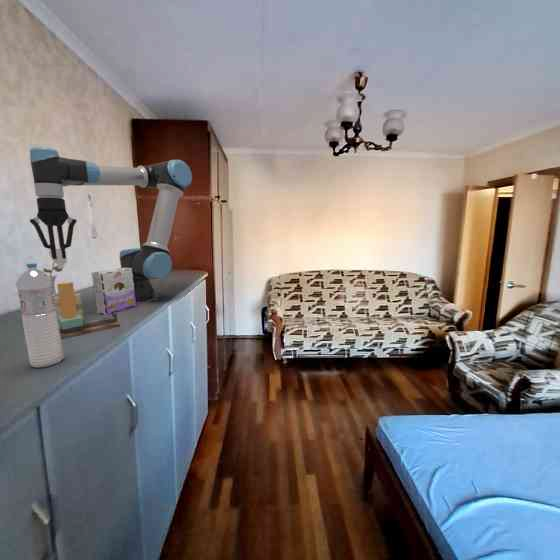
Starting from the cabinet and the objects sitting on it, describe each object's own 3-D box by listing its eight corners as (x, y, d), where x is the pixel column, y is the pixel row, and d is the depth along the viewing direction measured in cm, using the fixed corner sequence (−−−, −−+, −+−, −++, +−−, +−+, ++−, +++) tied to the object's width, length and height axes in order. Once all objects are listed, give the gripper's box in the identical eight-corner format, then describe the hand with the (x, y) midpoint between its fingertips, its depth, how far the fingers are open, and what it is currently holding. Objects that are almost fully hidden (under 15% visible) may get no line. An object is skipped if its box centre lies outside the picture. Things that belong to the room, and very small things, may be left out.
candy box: (127, 305, 131) (123, 267, 128) (137, 306, 128) (133, 267, 125) (96, 313, 118) (90, 271, 116) (106, 315, 116) (100, 272, 113)
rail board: (114, 321, 108) (113, 310, 107) (119, 326, 103) (118, 315, 102) (51, 334, 96) (49, 322, 95) (54, 340, 91) (52, 327, 90)
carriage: (79, 320, 101) (73, 280, 98) (83, 325, 95) (77, 283, 93) (59, 324, 97) (53, 282, 95) (62, 329, 92) (55, 285, 89)
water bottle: (58, 366, 74) (41, 264, 69) (24, 370, 72) (5, 266, 67) (68, 355, 80) (54, 261, 76) (38, 358, 78) (21, 262, 74)
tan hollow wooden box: (80, 317, 114) (76, 291, 112) (84, 321, 108) (80, 294, 106) (53, 321, 109) (49, 294, 107) (56, 327, 103) (52, 298, 101)
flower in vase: (49, 313, 119) (39, 250, 114) (30, 311, 123) (19, 249, 118) (81, 305, 131) (73, 247, 126) (62, 303, 135) (54, 247, 130)
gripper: (72, 199, 108) (80, 265, 112) (24, 197, 99) (36, 269, 103) (75, 197, 102) (84, 267, 106) (25, 195, 94) (37, 271, 98)
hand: (60, 268), depth 105 cm, fingers closed
